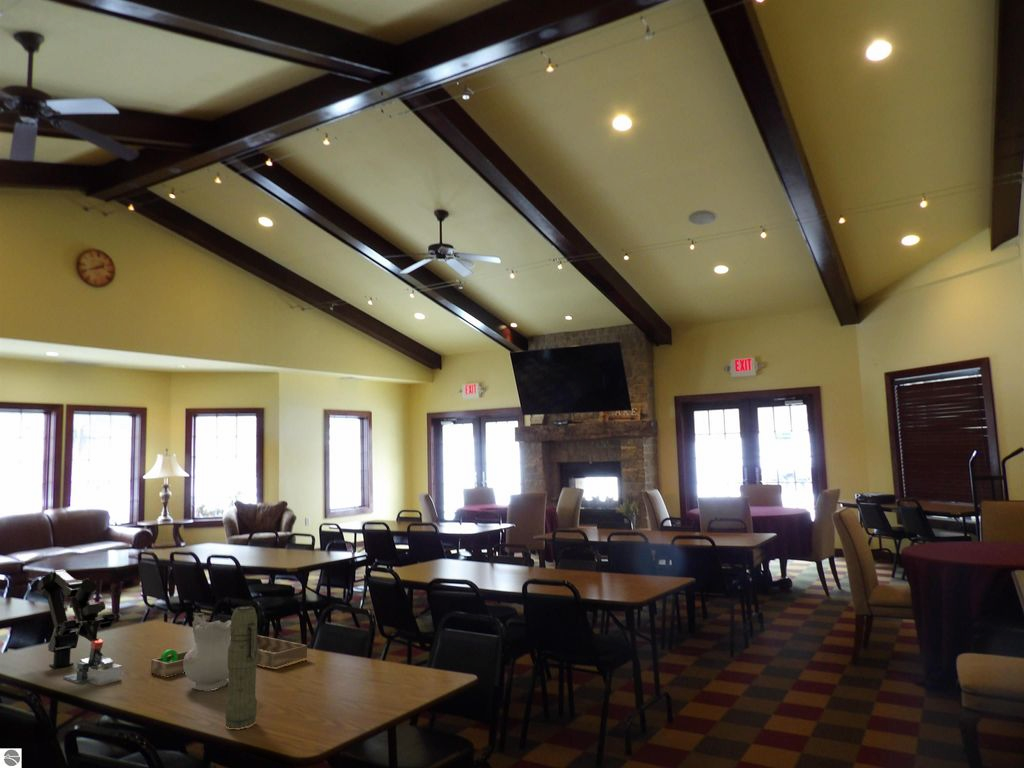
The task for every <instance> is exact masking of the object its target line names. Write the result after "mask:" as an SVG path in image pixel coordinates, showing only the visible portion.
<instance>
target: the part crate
mask: <svg viewBox="0 0 1024 768" xmlns="http://www.w3.org/2000/svg"><path fill="white" fill-rule="evenodd" d="M189 651H190V650H187V651H182V652H179V653H178V652H177V661H175V662H171V663H166V662H162V661H161V657H157V658H154V659H151V664H150V665H151V667H150V668H151V669H150V674H152V673H154V674H153V675H155V674H158V675H157V676H159V675H162V676H166V677H167V676H171V675H175V674H179V673H183V672H184V667H183V660H184V657H185V655H186V654H187V653H188V652H189ZM171 658H172V655H168V656H167V661H169V660H171ZM183 674H184V673H183ZM179 675H180V674H179ZM162 676H161V677H162ZM175 676H176V675H175ZM171 677H172V676H171Z"/></svg>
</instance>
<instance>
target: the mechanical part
mask: <svg viewBox="0 0 1024 768" xmlns="http://www.w3.org/2000/svg"><path fill="white" fill-rule="evenodd" d="M177 654H178V652H177V651H176V650H173V649H169V648H168V649H166V650H164V651H163V652H162V654H161V656H160V658H161V661H162V662H166V663H171V662H175V661H177ZM169 655H172V658H171V660H169V661H167V656H169Z"/></svg>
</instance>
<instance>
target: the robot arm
mask: <svg viewBox="0 0 1024 768" xmlns="http://www.w3.org/2000/svg"><path fill="white" fill-rule="evenodd" d="M97 588H98V585H97V584H96V583H95V582H94V581H92V580H90V578H84V579H76V578H74V577H73V576H71V575H70V574H69V573H68V572H67V569H62V568H61V569H55V570H51V571H50V573H48V574H46V575H45V576H43V577H41V579H40V580H39V581H38V583H37V589H38V591H39V592H40V595H41V596H42V597H43V598H44V599H46V600H47V602H48V603H47V604H48V606H49V607H48V608H49V612H50V615H51V618H52V624H53V625H54V627H53V628H54V631H53V633H52V636H51V640H50V641H49V643H48V652H51V653H53V659H52V663H50V664H49V665H48V666H49V667H51V666H52V668H54V667H56V668H55V669H59V667H60V668H64V667H63V666H65V667H69V666H73V665H74V662H71V653H72V651H71V650H72V649H76V648H77V646H78V642H79V637H80V636H81V637H83V638H85V639H86V640H87V641H89V642H90V643H92V640H94V639H98V630H99V628H101V629H103V630H104V629H108V628H110V627H112V626H113V625H114V622H115V621H116V619H117V616H116V613H113V612H112V613H111V612H110V613H105V614H103V615H102V616H101V618H98V616H99V613H101V612H103V611H105V610H106V604H105V601H99V602H97V603H92V604H90V600H92V598H93V596H94V595H95V593H96V591H97ZM62 590H63V591H62ZM61 592H63V595H64V596H65V598H66V599H70V598H71V600H70V604H69V608H70V609H71V608H72V611H73V613H74V616H73V619H71V620H68V617H67V613H66V610H65V609H66V608H65V605H64V602H63V598H62V595H61ZM96 618H97V619H96ZM68 665H69V666H68Z"/></svg>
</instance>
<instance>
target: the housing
mask: <svg viewBox="0 0 1024 768" xmlns="http://www.w3.org/2000/svg"><path fill="white" fill-rule="evenodd" d="M122 668H123V666H122V665H121V664H118V663H114V662H113V666H111V667H108V668H103V669H102V668H101V665H98V666H94V667H89V669H88V682H87V683H89V682H90V683H89V684H93V685H96V686H98V685H99V686H103V685H107V684H111V683H115V682H118V680H119V681H122V673H123V672H122V670H123V669H122ZM114 681H115V682H114ZM110 682H111V683H110Z"/></svg>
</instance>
